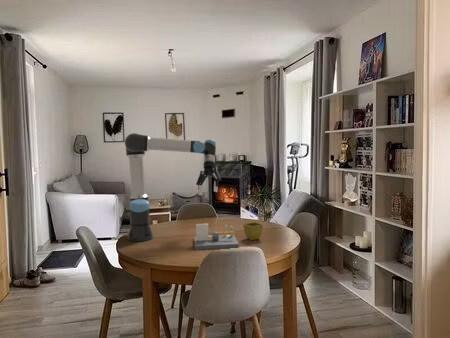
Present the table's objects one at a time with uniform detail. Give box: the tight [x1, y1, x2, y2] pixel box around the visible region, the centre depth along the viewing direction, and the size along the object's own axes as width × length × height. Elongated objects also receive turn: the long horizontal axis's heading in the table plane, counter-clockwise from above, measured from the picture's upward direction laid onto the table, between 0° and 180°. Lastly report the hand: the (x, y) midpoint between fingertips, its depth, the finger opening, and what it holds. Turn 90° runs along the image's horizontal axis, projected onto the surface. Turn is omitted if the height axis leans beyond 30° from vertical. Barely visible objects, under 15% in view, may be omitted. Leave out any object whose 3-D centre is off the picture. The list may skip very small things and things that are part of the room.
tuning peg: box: [195, 223, 236, 240], centre depth 205 cm, size 22×4×9 cm, turn 96°
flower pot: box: [243, 221, 263, 241], centre depth 215 cm, size 9×9×9 cm
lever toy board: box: [193, 224, 240, 250], centre depth 206 cm, size 24×22×8 cm
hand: (207, 193), depth 230 cm, fingers open, 13 cm apart
